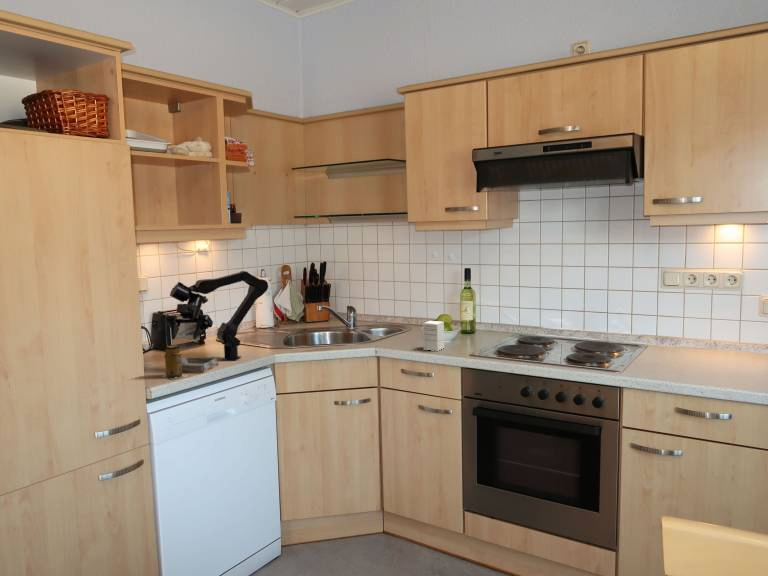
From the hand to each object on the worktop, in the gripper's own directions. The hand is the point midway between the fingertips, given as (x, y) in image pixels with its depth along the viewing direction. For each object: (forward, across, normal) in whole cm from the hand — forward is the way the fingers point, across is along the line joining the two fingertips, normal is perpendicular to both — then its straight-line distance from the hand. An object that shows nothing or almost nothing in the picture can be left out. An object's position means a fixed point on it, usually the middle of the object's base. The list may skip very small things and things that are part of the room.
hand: (183, 338), depth 250 cm
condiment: (+16, 0, +3) cm, 16 cm away
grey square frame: (+7, +2, +12) cm, 14 cm away
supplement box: (-21, +95, +46) cm, 108 cm away
